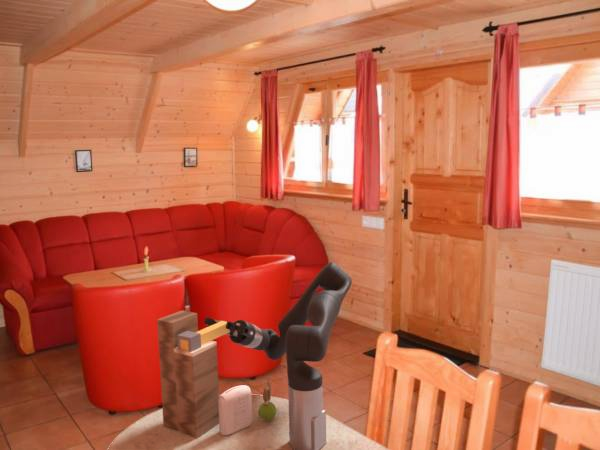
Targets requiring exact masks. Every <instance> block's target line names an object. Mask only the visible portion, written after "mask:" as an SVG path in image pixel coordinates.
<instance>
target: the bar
mask: <svg viewBox="0 0 600 450" xmlns="http://www.w3.org/2000/svg"><path fill="white" fill-rule="evenodd" d="M225 321H226V320H223V321H221V322H218V323H216V324H214V325H211V326H209V327H204V328H202V329H200V330H198V331H197V332H191V331H186V332H183V333H181V334H178V335H177V339H178V349H181V350H185V351H189V352H192V351H194V350H196V349H199V348H201V345H203V344H205V343H207V342H209V341H214V340H215V339H218V338H220V337H222V336H225V335H227V333H229V332H230V330H229V329H226V324H227V321H226V322H225Z"/></svg>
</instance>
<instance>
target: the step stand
mask: <svg viewBox="0 0 600 450" xmlns="http://www.w3.org/2000/svg"><path fill="white" fill-rule="evenodd" d="M156 320H157V321H156V323H157V337H158V338H157V339H158V341H157V343H158V356H159V369H160V371H159V373H160V387H161V403H162V404H161V405H162V421H163V424H162V425H163V428H166V429H169V430H171V431H174V432H178V433H180V434H183V435H185V436H189V437H191V438H194V439H199V438H201V436H203V435H204V434H206V433H207V432H209V431H210V430H211V429H213V428H215V427H216V426H218V425H219V404H218V399H219V396H220V391H219V389H220V388H219V369H218V368H219V366H218V365H219V363H218V346H217V345H218V343H217V342H218V341H214V340H212V341H209V342H207V343H205V344H203V345H201V348H199V349H196V350H194V351H192V352H189V351H185V350H181V349H178V339H177V335H178V334H181V333H183V332H186V331H191V332H197V331H199V325H198V324H199V323H198V313H197V312H192V311H187V310H183V309H182V310H180V311H177V312H174V313H172V314H168V315H166V316H163V317H160V318H158V319H156Z"/></svg>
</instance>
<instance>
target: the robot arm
mask: <svg viewBox="0 0 600 450" xmlns="http://www.w3.org/2000/svg"><path fill="white" fill-rule="evenodd" d="M352 281H353V279H352V278H351V276H350V275H349V274H348V273H347V272H345V270H344V269H342V268H341V266H339V265H338V264H337V263H335V261H330V262H328V263H327V264H326V265H325V266H324V267H322V268H321V269H320V271H319V272H318V273H317V275H316V276H315V277H314V278H313V280H312V281H311V283H309V285H308V286H307V288H306V289H305V291H303V292H302V295H301V296H300V297H299V299H298V300H297V302H296V303H295V304H294V305H293V306H292V308H291V309H290V310H289V311H288V312H287V313H286V314H285V315H284V316H283V317H282V318H281V320H280V321H278V324H277V329H278V331H279V335H278V333H277V332H276V331H274V329H272V328H265V329H263V328H261V327H258V326H257V325H256V324H253V323H251V322H249V321H246V320H244V319H238V320H235V321H234V322H232V321H229V320H228V321H226V320H224V319H222V320H221V319H220V320H217V319H216V318H215V319H214V318H211V317H208V316H206V317H205V320H204V323H203V324H204V325H206V326H207V327H209V326H211V325H214V324H216V323H218V322H221V321H225V322H227V324H226V329H229V330H230V332H229V333H227V334H226V335H228V336H229V337H228V338H229V339H230V341H231V342H232V343H234V344H237V345H240V346H242V347H245V348H250V349H252V350H256V351H259V352H260V351H263V352H264V353H265V355H266V356H267V358H268V359H269V360H271V361H277V360H279V359H282V358H283V356H286V358H285V359H286V368H287V369H286V373H287V383H288V384H287V387H288V389H287V391H288V421H289V422H288V425H289V426H288V430H289V432H288V434H289V446H290V448H291V449H292V450H320V449H321V448H323V447H324V446H325V444H327V411H326V410H325V409H324V405H323V404H324V403H323V398H324V397H323V396H324V395H323V392H324V391H323V390H324V389H323V374H322V372H321V371H319V369H317V368H315V367H313V366H310V365H309V364H308V363H306V362H310V363H311V362H314V363H315V362H316V363H317V362H321V361H322V360H323V359H324V358H325V356H326V354H327V351H328V347H329V343H330V340H331V334H332V331H333V328H334V325H335V323H336V321H337V319H338V316H339V314H340V310H341V308H342V307H341V306H342V304H343V301H344V299H345V298H346V296H347V294H348V292H349V290H350V288H351V286H352V283H353V282H352ZM319 288H321V289H322V290H321V291H318V289H319ZM317 291H318V292H317ZM308 321H309V323H310V324H311V325H306V324H307V322H308ZM207 327H206V328H207Z"/></svg>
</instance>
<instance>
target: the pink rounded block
mask: <svg viewBox="0 0 600 450" xmlns="http://www.w3.org/2000/svg"><path fill="white" fill-rule="evenodd" d="M252 401H253V400H252V390H251V388H250V386H248V385H245V384H244V385H243V384H242V385H241V384H240V385H236V386H232V387H231V388H228V389H227V390H225V391H224V392H222V393H221V394H219V399H218V404H219V424H218V425H219V426H218V427H219V432H220V434H221V435H222V436H223V435H224V436H228V435H231V434H234V433H236V432H239V431H241V430H243V429H244V428H245V429H246V428H247V427H249V426H251V425H252V424H253V410H252V409H253V406H252V405H253V404H252Z"/></svg>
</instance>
